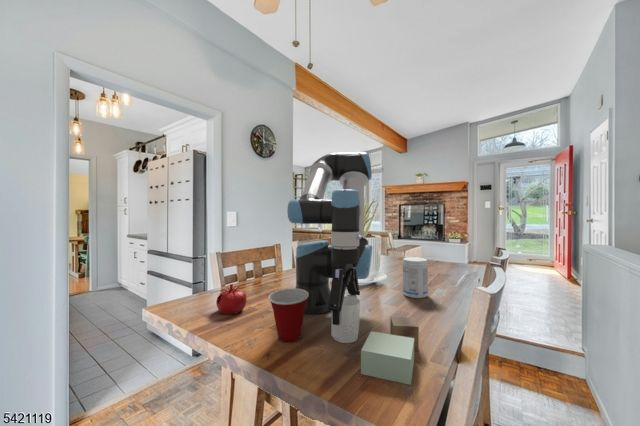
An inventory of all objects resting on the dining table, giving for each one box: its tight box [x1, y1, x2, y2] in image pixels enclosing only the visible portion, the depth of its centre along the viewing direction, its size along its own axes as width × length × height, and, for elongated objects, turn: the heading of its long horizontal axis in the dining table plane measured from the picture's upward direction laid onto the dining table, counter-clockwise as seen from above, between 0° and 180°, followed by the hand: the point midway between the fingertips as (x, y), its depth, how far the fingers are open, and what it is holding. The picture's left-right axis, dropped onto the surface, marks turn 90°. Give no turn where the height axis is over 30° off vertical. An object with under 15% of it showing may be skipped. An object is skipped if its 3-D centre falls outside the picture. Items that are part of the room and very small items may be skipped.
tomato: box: [215, 283, 248, 315], centre depth 97 cm, size 10×10×9 cm
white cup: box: [330, 295, 361, 344], centre depth 76 cm, size 8×8×10 cm
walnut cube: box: [389, 316, 420, 352], centre depth 73 cm, size 6×6×6 cm
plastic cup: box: [268, 287, 309, 343], centre depth 76 cm, size 11×11×12 cm
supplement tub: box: [402, 256, 429, 299], centre depth 114 cm, size 10×10×15 cm
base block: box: [360, 331, 415, 386], centre depth 62 cm, size 10×10×5 cm
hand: (345, 326), depth 76 cm, fingers open, 13 cm apart
